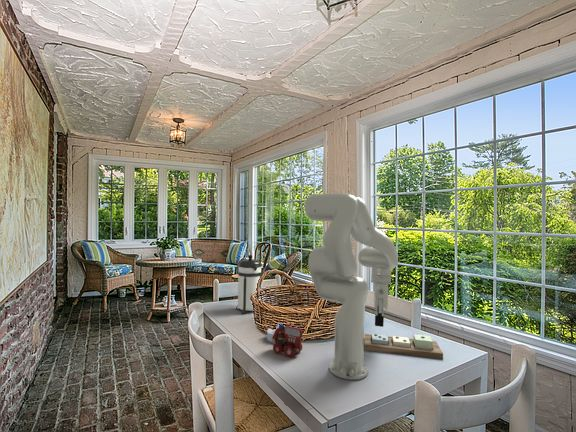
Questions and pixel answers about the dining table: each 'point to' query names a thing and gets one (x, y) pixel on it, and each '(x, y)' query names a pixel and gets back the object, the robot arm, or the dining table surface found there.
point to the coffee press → (247, 282)
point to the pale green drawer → (423, 341)
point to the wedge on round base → (271, 333)
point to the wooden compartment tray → (402, 348)
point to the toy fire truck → (287, 340)
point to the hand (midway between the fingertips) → (379, 325)
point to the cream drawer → (400, 341)
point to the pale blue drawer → (380, 339)
